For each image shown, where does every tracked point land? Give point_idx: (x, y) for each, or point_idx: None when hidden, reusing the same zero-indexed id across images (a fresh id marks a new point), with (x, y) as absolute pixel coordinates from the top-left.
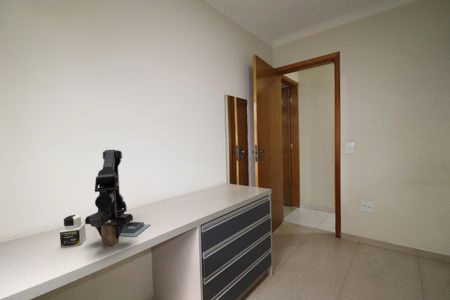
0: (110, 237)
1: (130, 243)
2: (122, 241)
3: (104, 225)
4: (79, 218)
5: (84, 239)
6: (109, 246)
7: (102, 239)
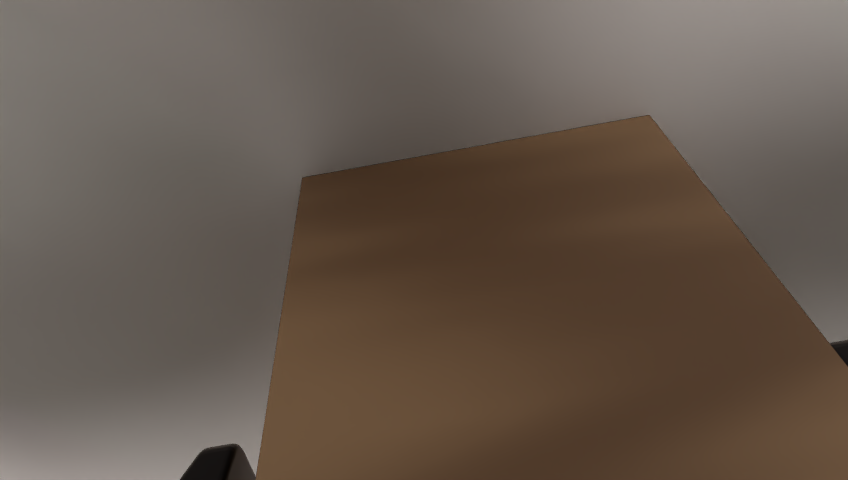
0: (304, 421)
1: (2, 444)
2: None
3: None
4: None
5: None
6: (379, 174)
7: (722, 269)
